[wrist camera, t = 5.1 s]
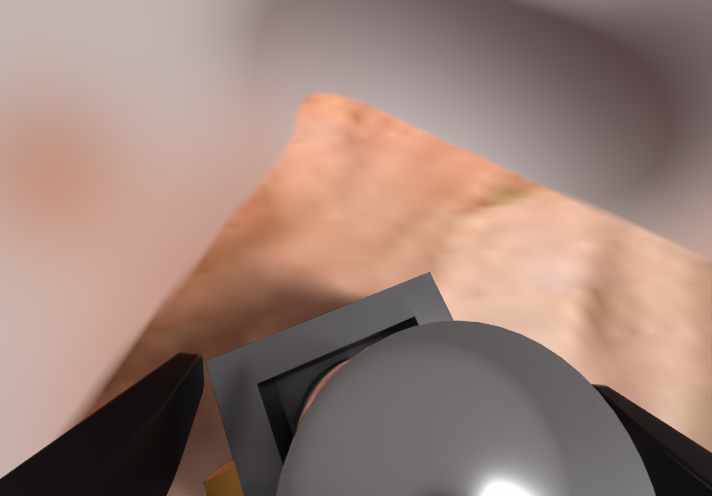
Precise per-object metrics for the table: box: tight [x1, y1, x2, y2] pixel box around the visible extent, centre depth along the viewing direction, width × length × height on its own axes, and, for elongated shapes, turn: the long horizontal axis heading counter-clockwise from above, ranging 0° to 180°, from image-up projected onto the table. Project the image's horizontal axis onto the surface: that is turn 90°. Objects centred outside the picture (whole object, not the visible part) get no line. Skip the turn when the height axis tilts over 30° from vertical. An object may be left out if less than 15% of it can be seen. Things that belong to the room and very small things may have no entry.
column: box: [276, 321, 656, 496], centre depth 9 cm, size 4×4×12 cm
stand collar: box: [204, 272, 454, 496], centre depth 13 cm, size 8×8×6 cm
